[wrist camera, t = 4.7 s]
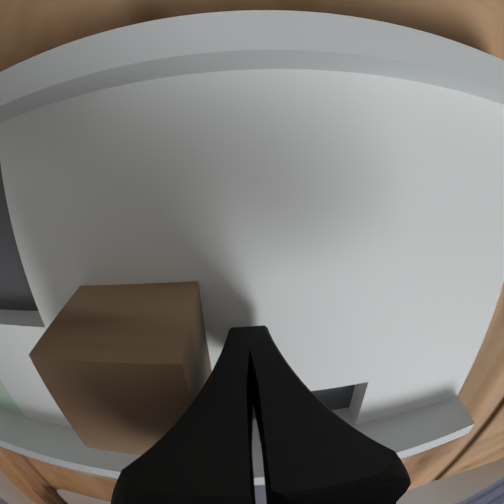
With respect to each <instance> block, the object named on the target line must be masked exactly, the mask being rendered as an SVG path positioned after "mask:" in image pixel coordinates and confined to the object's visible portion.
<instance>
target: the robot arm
mask: <svg viewBox="0 0 504 504" xmlns="http://www.w3.org/2000/svg"><path fill="white" fill-rule="evenodd" d="M253 406H254V411H255V416H256V422H257V427H258V432H259V437H260V443H261V449H262V457H263V469H264V480H265V485H254V474H253V460H252V432H253ZM410 484H411V482H410V478H409V475H408V473H407V470H406V468H405V466H404V465H403V463H402V461H401V460H400V458H399V457H398V455H397V453H396V452H395V451H394V450H392V449H390V448H388V447H386V446H384V445H382V444H380V443H378V442H376V441H374V440H373V439H371V438H369V437H368V436H366V435H364V434H363V433H361V432H360V431H358V430H357V429H355V428H354V427H352V426H351V425H350V424H348V423H347V422H346V421H344V420H343V419H342V418H340V417H339V416H338V415H336V414H335V413H334V412H333V411H331V410H330V409H329V408H328V407H327V406H326V405H325V404H324V403H322V402H321V401H320V400H319V399H318V398H317V397H316V396H315V395H314V394H313V393H312V392H311V391H310V390H309V389H308V388H307V386H306V385H305V384H304V383H303V382H302V381H301V380H300V378H299V377H298V376H297V375H296V374H295V372H294V371H293V370H292V368H291V367H290V366H289V364H288V363H287V361H286V360H285V358H284V357H283V356H282V354H281V353H280V351H279V349H278V348H277V346H276V344H275V343H274V341H273V339H272V337H271V335H270V333H269V330H268V328H267V327H266V326H265V325H263V326H248V327H232V328H230V329H229V331H228V335H227V339H226V342H225V344H224V347H223V349H222V352H221V354H220V356H219V358H218V360H217V362H216V365H215V367H214V369H213V370H212V372H211V374H210V376H209V377H208V379H207V381H206V383H205V384H204V386H203V388H202V389H201V391H200V392H199V394H198V395H197V397H196V398H195V400H194V401H193V402H192V404H191V405H190V406H189V408H188V409H187V410H186V411H185V413H184V414H183V415H182V416H181V417H180V419H179V420H178V421H177V422H176V423H175V424H174V425H173V427H172V428H171V429H170V430H169V431H168V432H167V433H166V434H165V435H164V436H162V437H161V438H160V439H159V440H158V441H157V442H156V443H155V444H154V445H153V446H152V447H151V448H150V449H148V450H147V451H146V452H145V453H144V454H142V455H141V456H140V457H138V458H137V459H136V460H134V461H133V462H132V463H131V464H129V465H128V466H127V467H125V468H124V469H122V471H121V473H120V475H119V477H118V480H117V483H116V485H115V488H114V491H113V495H112V500H111V504H396V502H397V501H398V500H399V498H400V497H401V496H402V495H403V494H404V493H405V492H406V491H407V489H408V487H409V486H410ZM0 504H8V503H7V502H5V501H4V500H3V499H1V498H0ZM456 504H504V477H502V478H500V479H499V480H497V481H496V482H494V483H492V484H491V485H489V486H487V487H486V488H484V489H482V490H480V491H479V492H477V493H475V494H473V495H471V496H469V497H468V498H466V499H464V500H462V501H460V502H458V503H456Z"/></svg>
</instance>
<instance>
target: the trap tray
mask: <svg viewBox="0 0 504 504" xmlns="http://www.w3.org/2000/svg"><path fill="white" fill-rule="evenodd" d="M190 281H198V285H199V292H200V299H201V306H202V313H203V320H204V326H205V332H206V339H207V345H208V351H209V357H210V363H211V368H212V370H213V369H214V367H215V365H216V362H217V360H218V358H219V356H220V354H221V352H222V349H223V347H224V344H225V342H226V339H227V335H228V331H229V329H230V328H232V327H248V326H263V325H265V326H266V327H267V328H268V330H269V333H270V335H271V337H272V339H273V341H274V343H275V344H276V346H277V348H278V349H279V351H280V353H281V354H282V356H283V357H284V358H285V360H286V361H287V363H288V364H289V366H290V367H291V368H292V370H293V371H294V372H295V374H296V375H297V376H298V377H299V378H300V380H301V381H302V382H303V383H304V384H305V385H306V386H307V388H308V389H309V390H310V391H311V392H312V393H313V394H314V395H315V396H316V397H317V398H318V399H319V400H320V401H321V402H322V403H324V404H325V405H326V406H327V407H328V408H329V409H330V410H331V411H333V412H334V413H335V414H336V415H338V416H339V417H340V418H342V419H343V420H344V421H346V422H347V423H348V424H350V425H351V426H352V427H354V428H355V429H357V430H358V431H360V432H361V433H363V434H364V435H366V436H368V437H369V438H371V439H373V440H374V441H376V442H378V443H380V444H382V445H384V446H386V447H388V448H390V449H392V450H394V451H395V452H396V453H397V455H398V457H399V458H400V459H401V458H405V457H408V456H411V455H414V454H417V453H420V452H422V451H425V450H428V449H431V448H433V447H436V446H439V445H441V444H444V443H446V442H449V441H451V440H454V439H456V438H458V437H461V436H463V435H465V434H467V433H468V432H469V431H470V430H471V428H472V427H473V425H474V424H475V423H474V421H473V420H472V418H471V417H470V415H469V413H468V412H467V410H466V409H465V407H464V405H463V404H462V402H461V401H460V399H459V398H458V396H457V395H458V393H459V391H460V389H461V387H462V385H463V383H464V381H465V379H466V377H467V375H468V373H469V371H470V369H471V367H472V365H473V362H474V360H475V358H476V356H477V354H478V351H479V349H480V347H481V344H482V342H483V339H484V337H485V334H486V332H487V329H488V327H489V324H490V321H491V319H492V316H493V313H494V310H495V307H496V304H497V301H498V298H499V295H500V292H501V289H502V285H503V282H504V61H503V60H501V59H499V58H497V57H495V56H492V55H490V54H487V53H485V52H483V51H480V50H478V49H475V48H473V47H470V46H467V45H464V44H462V43H459V42H456V41H453V40H450V39H447V38H444V37H441V36H438V35H434V34H431V33H428V32H424V31H420V30H417V29H413V28H409V27H405V26H401V25H396V24H392V23H387V22H382V21H377V20H371V19H366V18H360V17H353V16H346V15H338V14H329V13H319V12H307V11H287V10H243V11H223V12H211V13H201V14H192V15H184V16H177V17H170V18H164V19H158V20H153V21H148V22H143V23H138V24H133V25H129V26H125V27H120V28H116V29H113V30H109V31H105V32H101V33H98V34H95V35H91V36H88V37H85V38H82V39H78V40H75V41H73V42H70V43H67V44H64V45H61V46H58V47H56V48H53V49H51V50H48V51H45V52H43V53H40V54H38V55H36V56H33V57H31V58H29V59H26V60H24V61H22V62H20V63H18V64H16V65H13V66H11V67H9V68H7V69H5V70H3V71H1V72H0V446H1V447H4V448H6V449H9V450H12V451H14V452H17V453H20V454H23V455H25V456H28V457H31V458H34V459H38V460H41V461H44V462H47V463H51V464H54V465H58V466H61V467H65V468H69V469H73V470H77V471H81V472H86V473H90V474H95V475H100V476H105V477H111V478H117V479H118V477H119V475H120V473H121V471H122V469H124V468H125V467H127V466H128V465H129V464H131V463H132V462H133V461H134V460H136V459H137V458H138V457H140V456H141V455H136V454H128V453H120V452H113V451H106V450H100V449H94V448H89V447H86V446H85V444H84V443H83V442H82V440H81V439H80V438H79V436H78V435H77V433H76V432H75V431H74V429H73V428H72V426H71V425H70V423H69V422H68V421H67V419H66V418H65V416H64V415H63V413H62V412H61V410H60V408H59V407H58V405H57V404H56V402H55V401H54V399H53V397H52V396H51V394H50V392H49V391H48V389H47V387H46V386H45V384H44V382H43V381H42V379H41V377H40V375H39V373H38V372H37V370H36V368H35V366H34V364H33V362H32V360H31V358H30V357H29V354H30V352H31V351H32V349H33V348H34V346H35V345H36V343H37V342H38V341H39V339H40V338H41V336H42V335H43V334H44V332H45V331H46V330H47V328H48V327H49V325H50V324H51V323H52V321H53V320H54V319H55V317H56V316H57V315H58V313H59V312H60V311H61V310H62V308H63V307H64V306H65V304H66V303H67V302H68V300H69V299H70V298H71V297H72V295H73V294H74V293H75V292H76V290H77V289H78V288H79V287H80V286H92V285H122V284H147V283H170V282H190ZM252 460H253V474H254V485H265V480H264V469H263V457H262V449H261V443H260V437H259V432H258V427H257V422H256V416H255V411H254V406H253V432H252Z"/></svg>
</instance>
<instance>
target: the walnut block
mask: <svg viewBox="0 0 504 504" xmlns="http://www.w3.org/2000/svg"><path fill="white" fill-rule="evenodd" d="M29 357H30V358H31V360H32V362H33V364H34V366H35V368H36V370H37V372H38V373H39V375H40V377H41V379H42V381H43V382H44V384H45V386H46V387H47V389H48V391H49V392H50V394H51V396H52V397H53V399H54V401H55V402H56V404H57V405H58V407H59V408H60V410H61V412H62V413H63V415H64V416H65V418H66V419H67V421H68V422H69V423H70V425H71V426H72V428H73V429H74V431H75V432H76V433H77V435H78V436H79V438H80V439H81V440H82V442H83V443H84V444H85V446H86V447H89V448H94V449H100V450H106V451H113V452H120V453H128V454H136V455H142V454H144V453H145V452H146V451H147V450H148V449H150V448H151V447H152V446H153V445H154V444H155V443H156V442H157V441H158V440H159V439H160V438H161V437H162V436H164V435H165V434H166V433H167V432H168V431H169V430H170V429H171V428H172V427H173V425H174V424H175V423H176V422H177V421H178V420H179V419H180V417H181V416H182V415H183V414H184V413H185V411H186V410H187V409H188V408H189V406H190V405H191V404H192V402H193V401H194V400H195V398H196V397H197V395H198V394H199V392H200V391H201V389H202V388H203V386H204V384H205V383H206V381H207V379H208V377H209V376H210V374H211V372H212V368H211V363H210V357H209V351H208V345H207V339H206V332H205V326H204V320H203V313H202V306H201V299H200V292H199V285H198V281H190V282H170V283H147V284H122V285H92V286H80V287H79V288H78V289H77V290H76V292H75V293H74V294H73V295H72V297H71V298H70V299H69V300H68V302H67V303H66V304H65V306H64V307H63V308H62V310H61V311H60V312H59V313H58V315H57V316H56V317H55V319H54V320H53V321H52V323H51V324H50V325H49V327H48V328H47V330H46V331H45V332H44V334H43V335H42V336H41V338H40V339H39V341H38V342H37V343H36V345H35V346H34V348H33V349H32V351H31V352H30V354H29Z"/></svg>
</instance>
